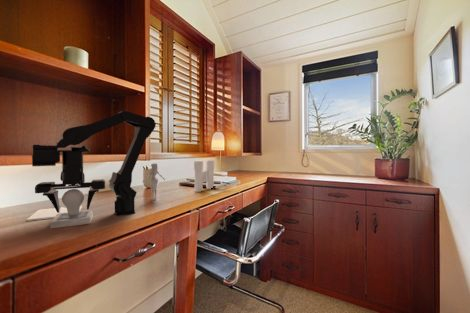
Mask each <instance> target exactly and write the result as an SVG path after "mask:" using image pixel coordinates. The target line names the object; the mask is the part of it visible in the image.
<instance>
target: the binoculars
mask: <svg viewBox="0 0 470 313" xmlns="http://www.w3.org/2000/svg"><path fill="white" fill-rule="evenodd" d="M205 169H206V170H204V161H203V160H194V161H193V170H194V192H196V193H201V191H202V192H203V187H204V186H203V183H206V184H205V186H206V187H205V188H206V189H207V190H212V189H211V188H213V185H214V186H215V183H214V179H215V178H214V175H215V171H214V169H215V160H214V159H213V160H211V159H206V160H205ZM213 189H214V188H213Z"/></svg>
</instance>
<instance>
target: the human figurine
mask: <svg viewBox="0 0 470 313" xmlns="http://www.w3.org/2000/svg"><path fill="white" fill-rule="evenodd" d="M157 175H159V177H161V178H162V179H163V181H165V180H166V179H165V177H163V175H161V174H160V172H159V171H158V164H157V163H154V162H153V163H151V170H150V172H149V173H148V175H147V176H146V177H145V178H144V179H143V180H142V184H144V183H145V181H146V180H147V179H148V178H149V177H150V176H151V178H150V181H149V185H150V189H151V192H150V193H151V199H150V201H157V187H158V185H159V184H158V182H159V178H157V177H156V176H157Z"/></svg>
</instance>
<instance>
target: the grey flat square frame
mask: <svg viewBox="0 0 470 313" xmlns="http://www.w3.org/2000/svg"><path fill="white" fill-rule="evenodd" d="M93 216H94V209H90V210H87V209H86V210H80V211H79V213H78V218H73V219H69V214H68V212H67V213H58V214H57V215H56V216H55V217H54V218H52V219H51V220H50V222H49V229H57V228H65V227H73V226H80V225H88V224H89V225H90V224H91V222H92V220H93Z"/></svg>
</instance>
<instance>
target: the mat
mask: <svg viewBox="0 0 470 313" xmlns="http://www.w3.org/2000/svg"><path fill="white" fill-rule="evenodd" d="M82 208H83V205H81V206H80V209H79V211H82V210H81V209H82ZM67 212H68V211H67V208H66V206H65V207H62V206H61V207H60V212H59V213H67ZM57 214H58V213H57V211H56V209H55V207H53V208H41V209H38V210H37V211H35V213H33V214H32V215H31V216H29V217H28V218H26V222H30V221H31V222H32V221H41V220H52V219H53V218H54V217H55V216H56V215H57Z"/></svg>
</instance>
